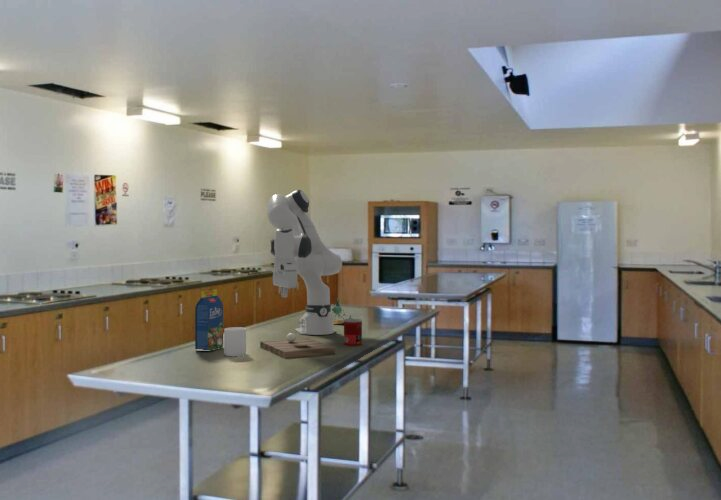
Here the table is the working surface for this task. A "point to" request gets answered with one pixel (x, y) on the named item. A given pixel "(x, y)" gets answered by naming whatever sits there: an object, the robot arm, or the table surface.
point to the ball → (291, 337)
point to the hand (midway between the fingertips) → (284, 297)
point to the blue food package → (209, 321)
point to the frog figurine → (337, 310)
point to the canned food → (352, 332)
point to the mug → (235, 341)
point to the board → (297, 348)
